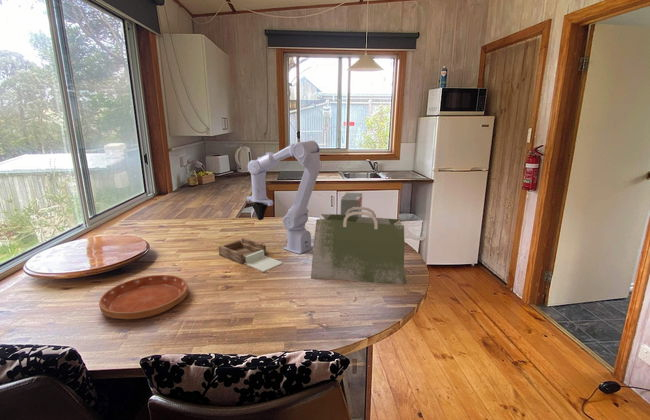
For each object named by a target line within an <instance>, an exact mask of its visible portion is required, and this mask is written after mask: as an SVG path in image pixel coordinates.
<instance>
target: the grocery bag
mask: <svg viewBox="0 0 650 420" xmlns="http://www.w3.org/2000/svg"><path fill="white" fill-rule="evenodd" d="M359 209H361V210H362V212H351V213H349V212H350V211H353V210H359ZM365 211H366V212H365ZM348 213H349V214H348ZM356 214H362V217H356V216H352V215H356ZM315 222H316V223H315V230H314V238H313V239H314V241H313V247H312V249H313V250H312V259H311V260H312V261H311V270H310V271H311V273H310V279H334V280H344V281H354V282H365V283H376V284H388V285H389V284H392V285H394V284H397V285H398V284H399V285H407V283H408V282H407V278H406V271H405V225H402V223H401V219H399V218H397V219H396V218H385V217H377V214H376V213H375V212H374V210H372V209H371V208H369V207H365V206H362V207H352V208H350V209H348V210H347V211H346V213H345V215H341V213H340V214H339V213H338V214H337V213H335V214H334V213H333V214H332V213H328V214H327V213H326V214H324V213H320V214H319V218H318V219H316V221H315Z"/></svg>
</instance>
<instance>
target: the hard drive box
mask: <svg viewBox="0 0 650 420" xmlns="http://www.w3.org/2000/svg"><path fill="white" fill-rule="evenodd" d="M352 207H363V193H361V192H345V194H344V195H343V197H342V198H341V199H340V215H345V213H346V211H347V210H348V209H350V208H352ZM351 212H363V210H361V209H359V210H353V211H350V212H349V213H351ZM349 213H348V214H349ZM352 216H356V217H363V215H362V214H356V215H352Z"/></svg>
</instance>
